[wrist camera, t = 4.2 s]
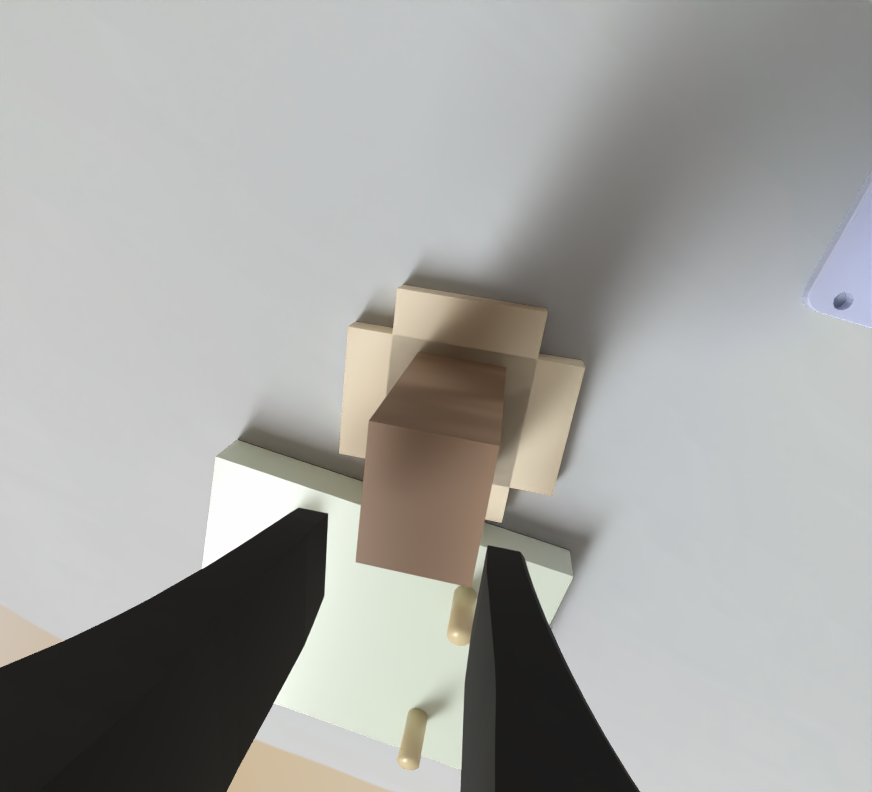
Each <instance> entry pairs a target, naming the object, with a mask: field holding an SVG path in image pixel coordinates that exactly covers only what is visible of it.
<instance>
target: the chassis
mask: <svg viewBox="0 0 872 792" xmlns="http://www.w3.org/2000/svg"><path fill="white" fill-rule="evenodd" d="M362 487H363V482H362V481H359V480H356V479H353V478H350V477H347V476H344V475H341V474H338V473H335V472H332V471H329V470H326V469H323V468H320V467H317V466H314V465H311V464H308V463H305V462H302V461H299V460H296V459H293V458H290V457H287V456H284V455H281V454H278V453H275V452H272V451H269V450H266V449H263V448H260V447H257V446H254V445H251V444H248V443H245V442H242V441H239V440H236V441H234V442H233V443H232V444H231V445H230V446H228V447H227V448H226V449H225V450H223V451H222V452H221V453H220V454H218V455H217V456H216V459H215V467H214V475H213V483H212V491H211V500H210V508H209V516H208V524H207V532H206V540H205V548H204V556H203V565H202V569H203V568H205V567H206V566H208V565H210V564H211V563H213V562H214V561H216V560H218V559H219V558H221V557H222V556H224V555H225V554H227V553H229V552H230V551H232V550H233V549H235V548H237V547H238V546H240V545H241V544H243V543H244V542H246V541H247V540H249V539H251V538H252V537H254V536H255V535H257V534H258V533H260V532H261V531H263V530H264V529H266V528H267V527H269V526H270V525H272V524H274V523H275V522H277V521H278V520H280V519H281V518H283V517H284V516H286V515H287V514H289V513H290V512H292V511H294V510H295V509H297V508H304V509H309V510H314V511H319V512H324V513H328V532H327V553H326V574H325V595H324V599H323V601H322V604H321V606H320V609H319V611H318V614H317V616H316V619H315V621H314V624H313V626H312V629H311V631H310V634H309V636H308V638H307V641H306V643H305V646H304V648H303V650H302V651H301V653H300V655H299V657H298V659H297V661H296V663H295V665H294V666H293V668H292V670H291V672H290V674H289V676H288V678H287V679H286V681H285V683H284V685H283V687H282V689H281V691H280V692H279V694H278V696H277V698H276V700H275V702H274V703H275V704H277V705H280V706H283V707H286V708H288V709H291V710H294V711H297V712H300V713H302V714H305V715H308V716H311V717H314V718H316V719H319V720H322V721H325V722H328V723H330V724H333V725H336V726H339V727H342V728H344V729H347V730H350V731H353V732H356V733H358V734H361V735H364V736H367V737H370V738H372V739H375V740H378V741H381V742H384V743H386V744H389V745H392V746H395V747H397V748H400V750H399V755H398V759H397V762H398V764H399V766H400V767H402V768H403V769H406V770H416V769H417V768H418V767H419V763H420V758H421V756H423V757H425V758H428V759H431V760H434V761H437V762H439V763H442V764H445V765H448V766H451V767H453V768H456V769H459V770H461V766H462V738H463V711H464V685H465V676H466V668H467V660H468V653H469V645H470V638H471V630H472V624H473V619H474V614H475V609H476V603H477V598H478V593H479V588H480V582H481V577H482V572H483V567H484V561H485V556H486V551H487V546H488V545H490V546H495V547H500V548H505V549H510V550H515V551H520V552H521V553H522V555H523V556H524V557H525V561H526V564H527V568H528V571H529V574H530V577H531V580H532V583H533V586H534V589H535V591H536V594H537V597H538V599H539V602H540V604H541V607H542V610H543V612H544V614H545V617H546V619H547V622H548V624H549V625H550V623H551V621H552V619H553V617H554V615H555V613H556V611H557V609H558V607H559V605H560V603H561V601H562V599H563V597H564V595H565V593H566V591H567V589H568V587H569V585H570V583H571V581H572V579H573V570H572V564H571V557H570V551H569V550H566V549H563V548H560V547H557V546H554V545H551V544H548V543H545V542H542V541H539V540H536V539H533V538H530V537H527V536H524V535H521V534H518V533H515V532H512V531H509V530H506V529H503V528H500V527H497V526H494V525H491V524H488V523H485V522H484V527H483V532H482V537H481V542H480V546H479V551H478V556H477V561H476V566H475V571H474V576H473V581H472V586H471V588H470V587H465V586H461V585H456V584H452V583H447V582H443V581H438V580H434V579H429V578H425V577H420V576H415V575H411V574H406V573H402V572H397V571H393V570H388V569H384V568H379V567H375V566H370V565H366V564H361V563H357V562H355V561H356V551H357V540H358V529H359V519H360V508H361V498H362Z"/></svg>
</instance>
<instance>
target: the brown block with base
mask: <svg viewBox="0 0 872 792" xmlns="http://www.w3.org/2000/svg"><path fill="white" fill-rule="evenodd" d="M547 315H548V312H547V308H543V307H537V306H530V305H524V304H518V303H512V302H506V301H500V300H494V299H488V298H482V297H475V296H469V295H463V294H457V293H451V292H445V291H439V290H433V289H426V288H420V287H414V286H408V285H402V286H400V287H398V288H397V295H396V305H395V314H394V324H393V328H391V327H385V326H379V325H374V324H368V323H362V322H354V323H353V324H351V325H350V326H348V335H347V349H346V363H345V376H344V390H343V404H342V418H341V432H340V446H339V454H344V455H349V456H354V457H359V458H364V459H365V466H364V476H363V487H362V498H361V508H360V519H359V529H358V540H357V551H356V561H355V562H357V563H361V564H366V565H370V566H375V567H379V568H384V569H388V570H393V571H397V572H402V573H406V574H411V575H415V576H420V577H425V578H429V579H434V580H438V581H443V582H447V583H452V584H456V585H461V586H465V587H470V588H471V586H472V581H473V576H474V571H475V566H476V561H477V556H478V551H479V546H480V542H481V537H482V532H483V527H484V522H485V520H490V521H495V522H500V523H502V519H503V515H504V510H505V506H506V501H507V497H508V492H509V488H515V489H520V490H525V491H530V492H535V493H540V494H545V495H550V496H552V495H553V491H554V487H555V484H556V480H557V476H558V472H559V468H560V464H561V460H562V456H563V453H564V449H565V445H566V441H567V437H568V433H569V429H570V425H571V422H572V418H573V414H574V410H575V406H576V402H577V398H578V394H579V391H580V387H581V383H582V379H583V375H584V371H585V366H584V363H583V361H582V360H576V359H571V358H565V357H559V356H553V355H547V354H542V353H539V351H540V347H541V342H542V338H543V333H544V328H545V324H546V319H547Z"/></svg>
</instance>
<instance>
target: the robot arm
mask: <svg viewBox="0 0 872 792" xmlns="http://www.w3.org/2000/svg"><path fill="white" fill-rule="evenodd" d="M843 292H844V293H845V294H846V297H847V298H846V301H845V303H844V304H843V305H842V306H840V307H838V308H835V307H834V305H833V302H834V298H835V297H836V296H837V295H838V294H841V293H843ZM802 302H803V304H804V305H805V307H806V308H808V309H810V310H812V311H815V312H818V313H822V314H825V315H828V316H832V317H835V318H838V319H841V320H845V321H848V322H851V323H855V324H858V325H861V326H864V327H868V328H871V329H872V170H871V172H870V173H869V175H868V177H867V179H866V180H865V182H864V184H863V186H862V188H861V189H860V191H859V193H858V195H857V196H856V198H855V200H854V202H853V204H852V205H851V207H850V209H849V211H848V212H847V214H846V216H845V218H844V220H843V221H842V223H841V225H840V227H839V228H838V230H837V232H836V234H835V236H834V237H833V239H832V241H831V243H830V244H829V246H828V248H827V250H826V251H825V253H824V255H823V257H822V259H821V260H820V262H819V264H818V266H817V267H816V269H815V271H814V273H813V275H812V276H811V278H810V280H809V282H808V283H807V285H806V287H805V289H804V291H803V294H802ZM327 532H328V513H324V512H319V511H314V510H309V509H304V508H297V509H295V510H294V511H292V512H290V513H289V514H287V515H286V516H284V517H283V518H281V519H280V520H278V521H277V522H275V523H274V524H272V525H270V526H269V527H267V528H266V529H264V530H263V531H261V532H260V533H258V534H257V535H255V536H254V537H252V538H251V539H249V540H247V541H246V542H244V543H243V544H241V545H240V546H238V547H237V548H235V549H233V550H232V551H230V552H229V553H227V554H225V555H224V556H222V557H221V558H219V559H218V560H216V561H214V562H213V563H211V564H210V565H208V566H206V567H205V568H203V569H201V570H199V571H198V572H196V573H194V574H192V575H191V576H189V577H187V578H185V579H184V580H182V581H180V582H178V583H177V584H175V585H173V586H171V587H170V588H168V589H166V590H164V591H163V592H161V593H159V594H157V595H156V596H154V597H152V598H150V599H149V600H147V601H145V602H143V603H141V604H139V605H137V606H135V607H133V608H131V609H129V610H127V611H125V612H124V613H122V614H120V615H118V616H116V617H114V618H111V619H109V620H107V621H105V622H103V623H101V624H99V625H97V626H95V627H93V628H91V629H89V630H86V631H84V632H82V633H80V634H78V635H76V636H74V637H72V638H69V639H67V640H65V641H63V642H60V643H58V644H56V645H53V646H51V647H49V648H46V649H44V650H41V651H39V652H37V653H34V654H32V655H29V656H27V657H25V658H22V659H20V660H17V661H15V662H13V663H10V664H8V665H6V666H3V667H1V668H0V792H227V790H228V787H229V785H230V784H231V782H232V780H233V778H234V776H235V774H236V772H237V769H238V767H239V766H240V764H241V762H242V760H243V758H244V757H245V755H246V753H247V751H248V749H249V747H250V745H251V743H252V742H253V740H254V738H255V736H256V735H257V733H258V731H259V729H260V727H261V725H262V724H263V722H264V720H265V718H266V716H267V714H268V713H269V711H270V709H271V707H272V705H273V703H274V702H275V700H276V698H277V696H278V694H279V692H280V691H281V689H282V687H283V685H284V683H285V681H286V679H287V678H288V676H289V674H290V672H291V670H292V668H293V666H294V665H295V663H296V661H297V659H298V657H299V655H300V653H301V651H302V650H303V648H304V646H305V643H306V641H307V638H308V636H309V634H310V631H311V629H312V626H313V624H314V621H315V619H316V616H317V614H318V611H319V609H320V606H321V604H322V601H323V599H324V595H325V574H326V553H327ZM461 792H640V791H639V790H638V788H637V786H636V785H635V783H634V782H633V780H632V779H631V777H630V776H629V774H628V773H627V771H626V769H625V768H624V766H623V764H622V763H621V761H620V759H619V758H618V756H617V754H616V753H615V751H614V749H613V748H612V746H611V745H610V743H609V741H608V740H607V738H606V736H605V734H604V733H603V731H602V729H601V727H600V726H599V724H598V722H597V720H596V719H595V717H594V715H593V713H592V711H591V710H590V708H589V706H588V704H587V702H586V700H585V698H584V697H583V695H582V693H581V691H580V689H579V687H578V685H577V683H576V681H575V679H574V677H573V675H572V673H571V671H570V669H569V667H568V665H567V663H566V661H565V659H564V657H563V655H562V653H561V651H560V648H559V646H558V644H557V642H556V639H555V637H554V635H553V633H552V631H551V628H550V626H549V624H548V622H547V619H546V617H545V614H544V612H543V610H542V607H541V604H540V602H539V599H538V597H537V594H536V591H535V589H534V586H533V583H532V580H531V577H530V574H529V571H528V568H527V564H526V561H525V557H524V556H523V555H522V553H521V552H520V551H515V550H510V549H505V548H500V547H495V546H490V545H488V546H487V551H486V556H485V561H484V567H483V572H482V577H481V582H480V588H479V593H478V598H477V603H476V609H475V614H474V619H473V624H472V630H471V638H470V645H469V653H468V660H467V668H466V676H465V685H464V711H463V738H462V766H461Z"/></svg>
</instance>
